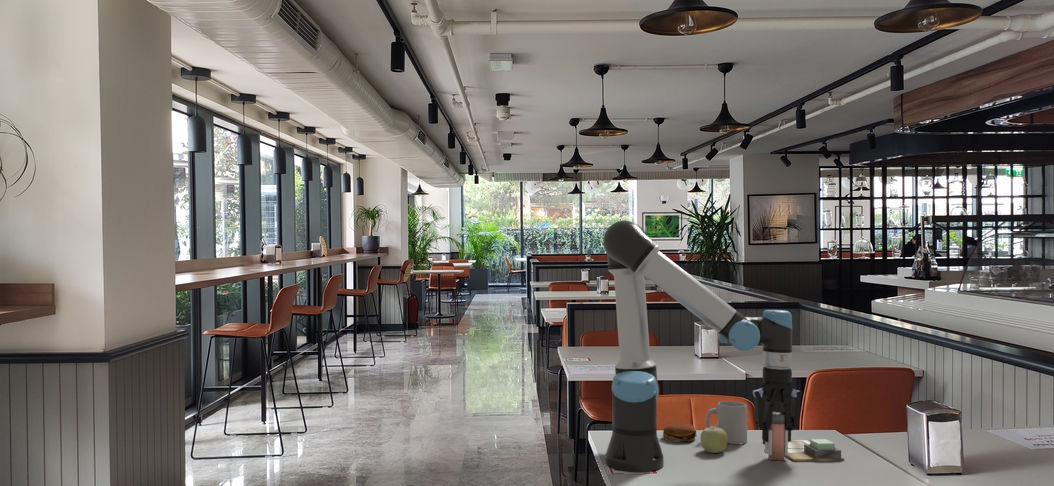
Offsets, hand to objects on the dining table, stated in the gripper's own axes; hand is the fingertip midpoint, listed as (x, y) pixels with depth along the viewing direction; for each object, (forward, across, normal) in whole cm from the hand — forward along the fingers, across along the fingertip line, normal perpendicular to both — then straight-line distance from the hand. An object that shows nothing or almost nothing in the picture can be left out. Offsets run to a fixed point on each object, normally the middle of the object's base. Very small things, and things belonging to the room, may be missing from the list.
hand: (776, 453), depth 191 cm
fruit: (+2, -15, +8) cm, 17 cm away
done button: (-1, +13, +1) cm, 13 cm away
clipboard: (+1, +10, +7) cm, 13 cm away
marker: (+1, 0, 0) cm, 1 cm away
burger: (+2, -20, +23) cm, 30 cm away
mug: (+2, -7, +20) cm, 21 cm away
